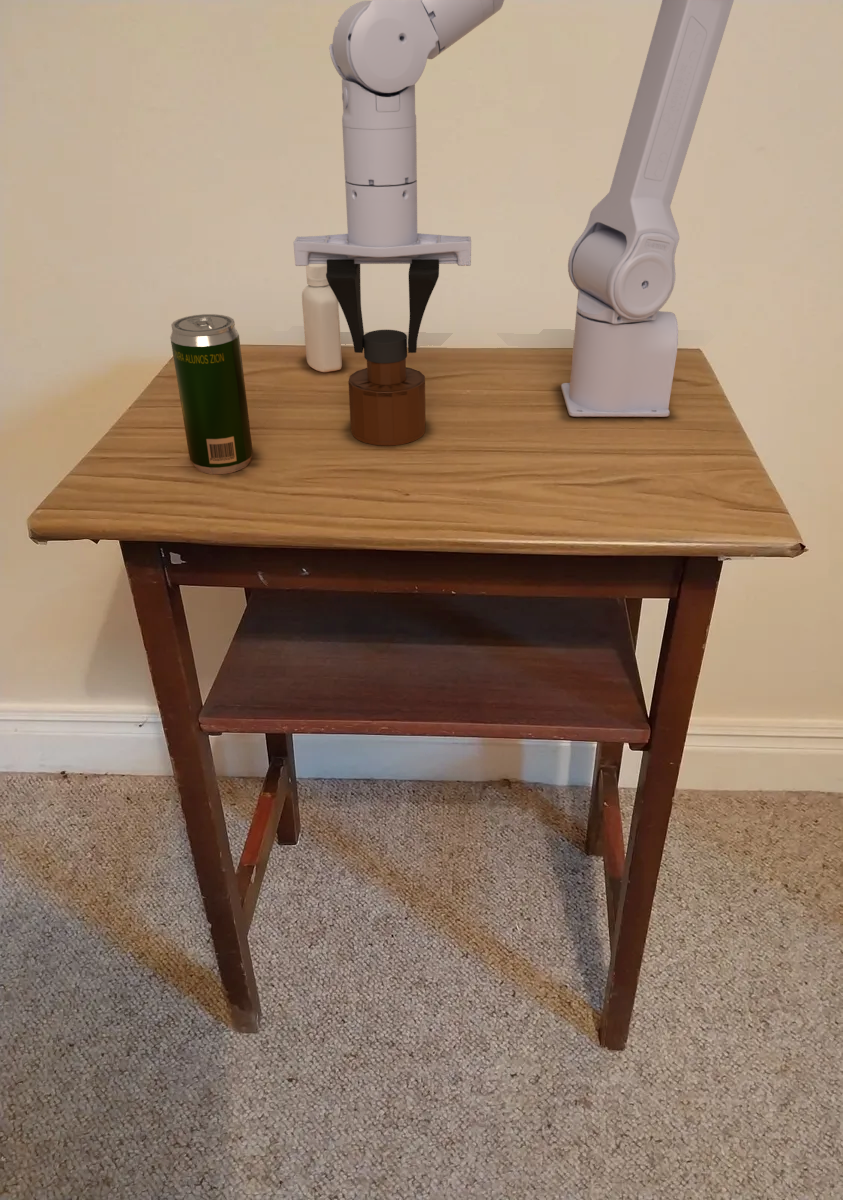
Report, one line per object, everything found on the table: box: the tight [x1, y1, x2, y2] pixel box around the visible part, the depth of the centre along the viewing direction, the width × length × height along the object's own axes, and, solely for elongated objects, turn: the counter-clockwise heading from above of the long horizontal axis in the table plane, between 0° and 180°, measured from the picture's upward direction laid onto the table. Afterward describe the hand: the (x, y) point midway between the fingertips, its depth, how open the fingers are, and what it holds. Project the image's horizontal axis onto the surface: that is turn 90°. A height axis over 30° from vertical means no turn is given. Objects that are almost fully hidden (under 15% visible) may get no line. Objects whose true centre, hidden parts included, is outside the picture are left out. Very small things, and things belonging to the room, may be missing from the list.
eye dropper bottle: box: [301, 264, 343, 373], centre depth 96 cm, size 4×6×12 cm
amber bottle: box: [347, 358, 426, 447], centre depth 82 cm, size 7×7×7 cm
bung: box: [363, 329, 408, 363], centre depth 80 cm, size 4×4×3 cm
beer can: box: [169, 313, 254, 475], centre depth 75 cm, size 5×5×12 cm
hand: (385, 349), depth 80 cm, fingers open, 4 cm apart
